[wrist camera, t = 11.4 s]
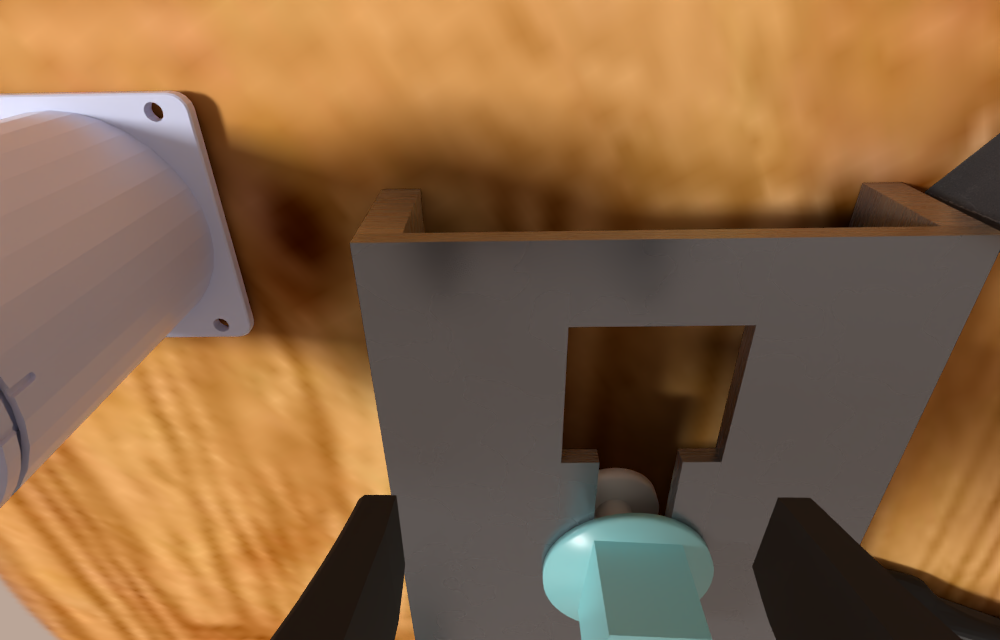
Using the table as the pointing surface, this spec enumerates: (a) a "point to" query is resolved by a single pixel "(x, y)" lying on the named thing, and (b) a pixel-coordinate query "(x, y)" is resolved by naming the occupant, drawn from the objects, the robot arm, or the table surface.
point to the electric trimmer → (952, 611)
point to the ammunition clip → (974, 185)
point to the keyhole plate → (647, 302)
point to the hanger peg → (630, 568)
